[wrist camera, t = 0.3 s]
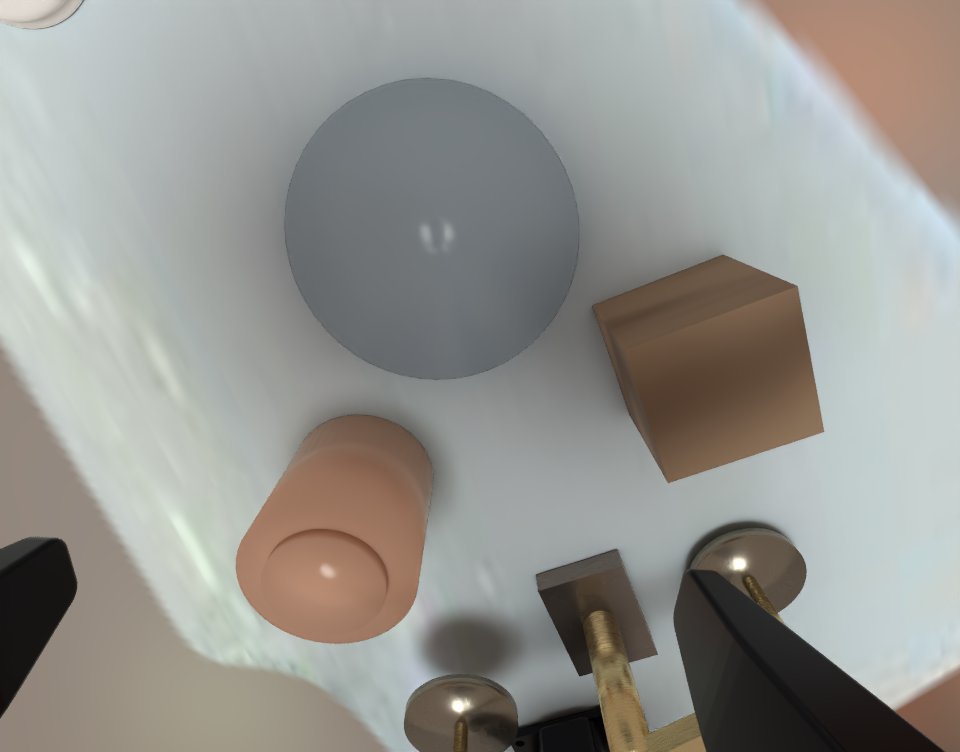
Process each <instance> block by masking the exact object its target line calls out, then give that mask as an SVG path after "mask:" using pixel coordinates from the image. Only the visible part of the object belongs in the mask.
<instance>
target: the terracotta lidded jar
mask: <svg viewBox="0 0 960 752" xmlns="http://www.w3.org/2000/svg"><path fill="white" fill-rule="evenodd" d="M432 488H433V469H432V465H431V462H430V459H429V457H428V454H427V453H426V451H425V449H424V448H423V446H422V445H421V444H420V442H419V441H418V440H417V439H416V438H415V437H414V436H413V435H412V434H411V433H409V432H408V431H407V430H405V429H404V428H402V427H401V426H399V425H397V424H395V423H393V422H391V421H388V420H386V419H383V418H379V417H375V416H369V415H348V416H342V417H338V418H335V419H331V420H329V421H327V422H325V423H323V424H321V425H320V426H318V427H317V428H315V429H314V430H313V431H312V432H311V433H310V434H309V435H308V436H307V437H306V438H305V439H304V441H303V443H302V444H301V446H300V447H299V449H298V451H297V452H296V454H295V455H294V457H293V459H292V460H291V462H290V464H289V465H288V467H287V468H286V470H285V472H284V473H283V475H282V476H281V478H280V480H279V481H278V483H277V485H276V486H275V488H274V489H273V491H272V493H271V494H270V496H269V497H268V499H267V501H266V502H265V504H264V506H263V507H262V509H261V510H260V512H259V514H258V515H257V517H256V518H255V520H254V522H253V523H252V525H251V527H250V528H249V530H248V531H247V533H246V535H245V536H244V538H243V539H242V541H241V543H240V546H239V548H238V552H237V557H236V573H237V579H238V582H239V585H240V588H241V590H242V592H243V594H244V596H245V597H246V599H247V600H248V602H249V603H250V605H251V606H252V607H253V608H254V609H255V610H256V611H257V612H258V613H259V614H260V615H261V616H262V617H263V618H264V619H266V620H267V621H268V622H270V623H271V624H273V625H274V626H276V627H278V628H279V629H281V630H283V631H285V632H287V633H289V634H292V635H294V636H297V637H300V638H303V639H307V640H311V641H315V642H322V643H335V644H340V643H352V642H359V641H363V640H367V639H370V638H373V637H376V636H378V635H380V634H382V633H384V632H386V631H388V630H390V629H391V628H392V627H394V626H395V625H397V624H398V623H399V622H400V621H401V620H402V619H403V618H404V617H405V615H406V614H407V613H408V612H409V610H410V608H411V607H412V605H413V603H414V600H415V598H416V594H417V589H418V583H419V576H420V570H421V563H422V556H423V549H424V542H425V536H426V529H427V522H428V515H429V508H430V502H431V495H432Z"/></svg>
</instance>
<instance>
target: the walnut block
mask: <svg viewBox="0 0 960 752" xmlns="http://www.w3.org/2000/svg"><path fill="white" fill-rule="evenodd" d="M593 309H594V312H595V315H596V318H597V321H598V324H599V327H600V330H601V333H602V336H603V339H604V341H605V344H606V347H607V350H608V353H609V356H610V359H611V362H612V365H613V368H614V371H615V374H616V377H617V380H618V382H619V385H620V388H621V391H622V394H623V397H624V400H625V403H626V406H627V409H628V412H629V415H630V416H631V418H632V420H633V422H634V424H635V425H636V427H637V429H638V431H639V432H640V434H641V436H642V438H643V439H644V441H645V443H646V445H647V447H648V448H649V450H650V452H651V454H652V455H653V457H654V459H655V461H656V462H657V464H658V466H659V468H660V469H661V471H662V473H663V475H664V477H665V478H666V480H667V482H668V483H670V482H673V481H676V480H679V479H682V478H685V477H688V476H691V475H694V474H697V473H700V472H703V471H706V470H709V469H712V468H716V467H719V466H722V465H725V464H728V463H731V462H734V461H737V460H740V459H743V458H746V457H749V456H752V455H755V454H758V453H761V452H764V451H767V450H770V449H773V448H776V447H779V446H782V445H785V444H789V443H792V442H795V441H798V440H801V439H804V438H807V437H810V436H813V435H816V434H819V433H822V432H824V428H823V423H822V417H821V412H820V406H819V401H818V395H817V390H816V384H815V379H814V373H813V368H812V363H811V357H810V352H809V346H808V341H807V335H806V330H805V324H804V319H803V314H802V308H801V303H800V297H799V292H798V286H796V285H794V284H791V283H789V282H787V281H784V280H782V279H779V278H777V277H775V276H772V275H770V274H768V273H765V272H763V271H761V270H758V269H756V268H754V267H751V266H749V265H746V264H744V263H742V262H739V261H737V260H735V259H732V258H730V257H728V256H725V255H721V256H718V257H716V258H713V259H711V260H708V261H706V262H703V263H700V264H698V265H695V266H693V267H690V268H688V269H685V270H682V271H680V272H677V273H675V274H672V275H670V276H667V277H664V278H662V279H659V280H657V281H654V282H652V283H649V284H646V285H644V286H641V287H639V288H636V289H634V290H631V291H628V292H626V293H623V294H621V295H618V296H616V297H613V298H610V299H608V300H605V301H603V302H600V303H598V304H595V305H593Z"/></svg>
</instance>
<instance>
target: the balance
mask: <svg viewBox="0 0 960 752" xmlns="http://www.w3.org/2000/svg"><path fill="white" fill-rule="evenodd" d="M690 569H704V570H714V571H716V572H718V573H719V574H721V575H722V576H723V577H725V578H726V579H727V580H728V581H730V582H731V583H732V584H734V585H735V586H736V587H737V588H739V589H740V590H741V591H742V592H744V593H745V594H746V595H747V596H749V597H750V598H751V599H753V600H754V601H755V602H756V603H758V604H759V605H760V606H761V607H763V608H764V609H765V610H767V611H768V612H769V613H770V614H772V615H773V616H774V617H775V618H777V619H778V620H779V621H781V622H782V623H783V624H784V622H783V620H782V619H781V617H780V616H779V614H778V612H780V611H781V610H783V609H784V608H785V607H787V606H788V605H789V604H790V603H791V602H792V601H793V600H794V599H795V598H796V597H797V596H798V594H799V593H800V591H801V590H802V588H803V586H804V583H805V579H806V571H807V570H806V564H805V561H804V559H803V557H802V555H801V554H800V553H799V551H798V550H797V549H796V548H795V546H794V545H793V544H792V543H791V541H790V540H788V539H787V538H786V537H785V536H783V535H782V534H780V533H777V532H775V531H772V530H768V529H763V528H745V529H739V530H735V531H731V532H729V533H726V534H723V535H721V536H719V537H717V538H716V539H714V540H712V541H711V542H710V543H708V544H707V545H706V546H705V547H704V548H702V549H701V550H700V552H699V553H698V554H697V555H696V557H695V558H694V560H693V562H692V564H691V566H690ZM536 579H537V587H538V592H539V594H540V596H541V598H542V600H543V602H544V604H545V606H546V609H547V611H548V613H549V615H550V617H551V619H552V621H553V623H554V625H555V627H556V629H557V631H558V633H559V635H560V637H561V639H562V641H563V644H564V646H565V648H566V650H567V652H568V654H569V656H570V658H571V660H572V662H573V664H574V666H575V668H576V670H577V672H578V674H579V676H583V675H587V674H590V673H593V675H594V680H595V685H596V689H597V694H598V698H599V703H600V708H601V712H602V717H603V722H604V726H605V731H606V736H607V740H608V745H609V749H610V752H706V749H705V746H704V743H703V740H702V737H701V733H700V730H699V726H698V722H697V718H696V714H695V713H693V714H691V715H689V716H686V717H684V718H682V719H680V720H678V721H676V722H674V723H671V724H669V725H667V726H665V727H663V728H661V729H659V730H656V731H654V732H652V733H650V734H649V730H648V727H647V723H646V720H645V716H644V713H643V709H642V706H641V703H640V699H639V696H638V692H637V689H636V685H635V682H634V678H633V675H632V672H631V668H630V665H629V662H633V661H636V660H640V659H644V658H647V657H651V656H654V655H658V653H657V650H656V648H655V645H654V642H653V639H652V636H651V634H650V631H649V629H648V626H647V624H646V621H645V619H644V616H643V614H642V611H641V609H640V606H639V604H638V601H637V598H636V596H635V593H634V591H633V588H632V586H631V583H630V581H629V578H628V576H627V573H626V571H625V568H624V566H623V563H622V560H621V558H620V555H619V553H618V550H614V551H611V552H608V553H604V554H601V555H598V556H595V557H592V558H589V559H585V560H582V561H579V562H576V563H573V564H570V565H566V566H563V567H560V568H557V569H554V570H551V571H547V572H544V573H541V574H538V575H536ZM784 625H785V624H784ZM404 730H405V734H406V736H407V738H408V740H409V741H410V743H411V744H412V745H413V746H414V747H415V748H416V749H417V750H419V751H420V752H503V751H505V750H506V749H507V748H508V747H509V746H510V745H511V744H512V743H513V741H514V740H515V738H516V735H517V732H518V714H517V706H516V703H515V701H514V699H513V697H512V696H511V694H510V693H509V692H508V691H507V690H506V689H504V688H503V687H502V686H500V685H499V684H497V683H495V682H493V681H491V680H489V679H486V678H483V677H479V676H474V675H464V674H457V675H447V676H442V677H438V678H436V679H433V680H430V681H428V682H426V683H425V684H423V685H421V686H420V687H419V688H418V689H416V690H415V691H414V692H413V694H412V695H411V696H410V698H409V700H408V702H407V705H406V711H405V718H404Z"/></svg>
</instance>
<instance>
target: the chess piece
mask: <svg viewBox="0 0 960 752" xmlns="http://www.w3.org/2000/svg"><path fill="white" fill-rule="evenodd" d="M82 1H83V0H0V22H3V23H5V24H8V25H11V26H15V27H20V28H27V29H39V28H46V27H50V26H53V25H56V24H58V23H60V22H62V21H64V20H65V19H67V18H68V17H69V16H70V15H72V14H73V13H74V12H75V11H76V9H77V8H78V7H79V5H80V4H81V2H82Z"/></svg>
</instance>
